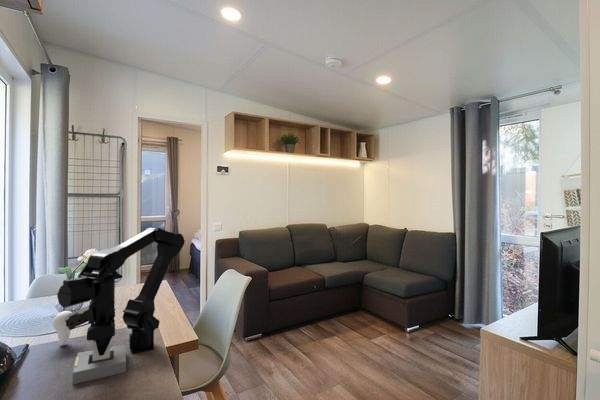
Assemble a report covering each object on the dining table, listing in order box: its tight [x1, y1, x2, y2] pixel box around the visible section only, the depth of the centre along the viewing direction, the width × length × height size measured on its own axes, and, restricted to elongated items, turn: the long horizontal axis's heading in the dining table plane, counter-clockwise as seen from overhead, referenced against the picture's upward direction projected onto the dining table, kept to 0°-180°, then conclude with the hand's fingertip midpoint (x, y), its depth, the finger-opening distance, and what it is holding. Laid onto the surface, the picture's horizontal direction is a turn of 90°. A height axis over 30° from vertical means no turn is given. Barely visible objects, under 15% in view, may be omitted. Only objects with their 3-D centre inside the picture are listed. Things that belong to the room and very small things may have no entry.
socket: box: [71, 343, 127, 385], centre depth 88 cm, size 12×12×3 cm
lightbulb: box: [52, 310, 72, 346], centre depth 101 cm, size 6×6×11 cm
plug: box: [92, 340, 111, 361], centre depth 88 cm, size 4×4×7 cm
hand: (101, 351), depth 88 cm, fingers closed on plug, 4 cm apart
